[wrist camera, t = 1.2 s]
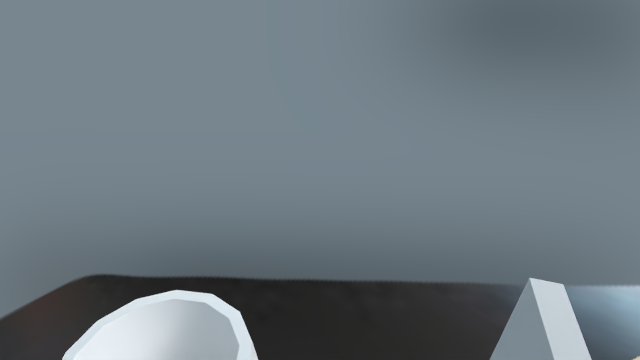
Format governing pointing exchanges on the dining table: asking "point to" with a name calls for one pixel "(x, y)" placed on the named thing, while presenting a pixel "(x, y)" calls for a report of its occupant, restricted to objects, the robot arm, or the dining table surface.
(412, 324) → the dining table surface
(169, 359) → the foam cup
